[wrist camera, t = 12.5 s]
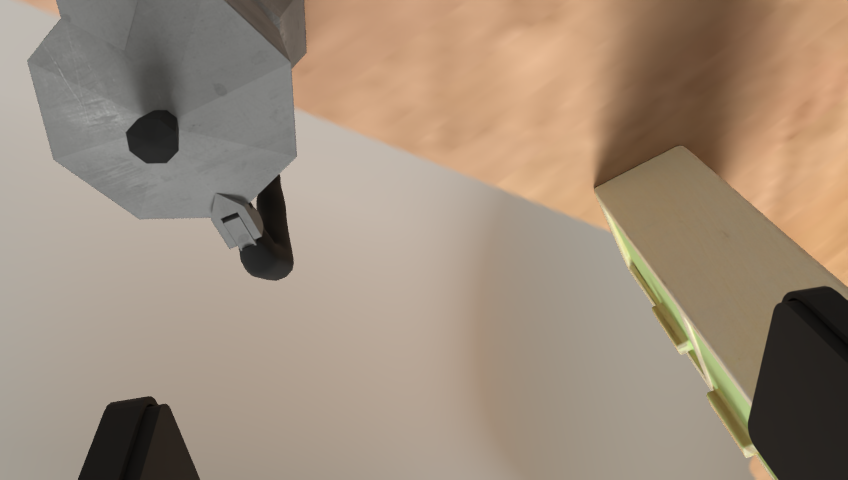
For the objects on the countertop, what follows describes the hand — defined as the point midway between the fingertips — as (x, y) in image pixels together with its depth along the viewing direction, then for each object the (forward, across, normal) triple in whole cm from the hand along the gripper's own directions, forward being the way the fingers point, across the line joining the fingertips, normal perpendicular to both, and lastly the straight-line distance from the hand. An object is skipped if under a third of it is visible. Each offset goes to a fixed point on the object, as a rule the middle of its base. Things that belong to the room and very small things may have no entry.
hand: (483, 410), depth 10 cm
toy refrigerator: (+31, -18, +16) cm, 39 cm away
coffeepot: (+32, +8, +1) cm, 32 cm away
